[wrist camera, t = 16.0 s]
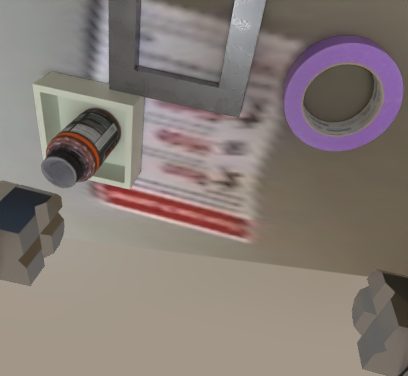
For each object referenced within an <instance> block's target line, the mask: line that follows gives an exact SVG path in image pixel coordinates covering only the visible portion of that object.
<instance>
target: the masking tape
mask: <svg viewBox="0 0 408 376" xmlns="http://www.w3.org/2000/svg"><path fill="white" fill-rule="evenodd" d="M344 64H352V65H358V66H361V67H364V68H366V69H367V70H369V71H370V72H372V74H373V78H374V90H373V94H372V97H371V99H370V101H369V102H368V104H367V105H366V106H365V108H364V109H363V110H362V111H360V112H359V113H358V114H357V115H355V116H353V117H352V118H350V119H347V120H344V121H340V122H326V121H322V120H319V119H317V118H315V117H314V116H312V115H311V114H310V113H309V112H308V111H307V109H306V108H305V106H304V104H303V100H304V95H305V92H306V90H307V88H308V86H309V85H310V83H311V82H312V81H313V80H314V79H315V78H316V77H317V76H318V75H319V74H320V73H322V72H323V71H325V70H327V69H329V68H331V67H334V66H338V65H344ZM402 98H403V80H402V76H401V73H400V71H399V68H398V67H397V65H396V63H395V62H394V61H393V60H392V58H391V57H390V56H389V55H388V54H387V53H386V52H385V51H384V50H383V49H382V48H381V47H380V46H378V45H377V44H376V43H374V42H372V41H370V40H368V39H366V38H362V37H358V36H336V37H331V38H328V39H325V40H322V41H320V42H318V43H316V44H314V45H313V46H311V47H310V48H308V49H307V50H306V51H305V52H303V53H302V54H301V55H300V57H299V58H298V59H297V60H296V61H295V62H294V64H293V65H292V67H291V69H290V70H289V72H288V75H287V77H286V81H285V85H284V111H285V116H286V120H287V122H288V124H289V126H290V128H291V130H292V131H293V132H294V134H295V135H296V136H297V137H298V138H299V139H300V140H302V141H303V142H304V143H306V144H308V145H310V146H312V147H314V148H317V149H321V150H325V151H345V150H351V149H354V148H358V147H360V146H363V145H365V144H367V143H369V142H371V141H372V140H374V139H375V138H377V137H378V136H379V135H380V134H382V133H383V132H384V131H385V130H386V129H387V128H388V127H389V125H390V124H391V123H392V122H393V120H394V119H395V117H396V115H397V113H398V111H399V109H400V106H401V103H402Z"/></svg>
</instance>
